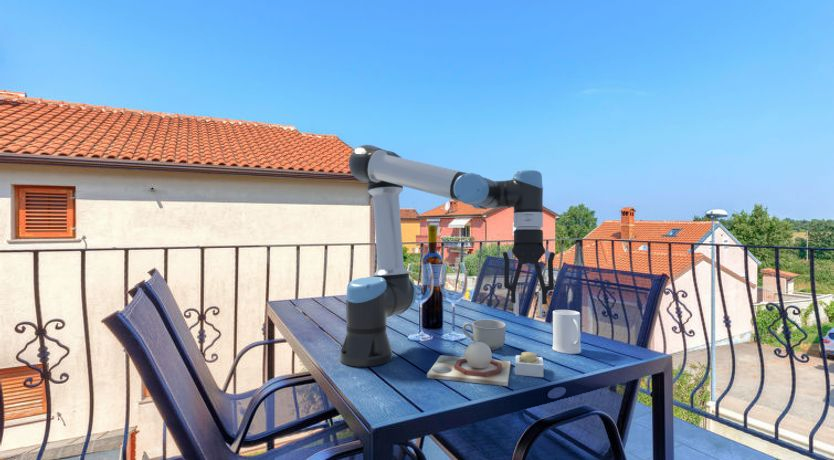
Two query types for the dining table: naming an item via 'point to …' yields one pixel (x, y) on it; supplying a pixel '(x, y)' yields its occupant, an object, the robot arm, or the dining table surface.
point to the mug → (566, 331)
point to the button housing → (529, 367)
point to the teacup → (487, 332)
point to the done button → (529, 357)
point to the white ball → (478, 355)
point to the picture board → (470, 371)
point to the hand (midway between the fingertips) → (528, 315)
